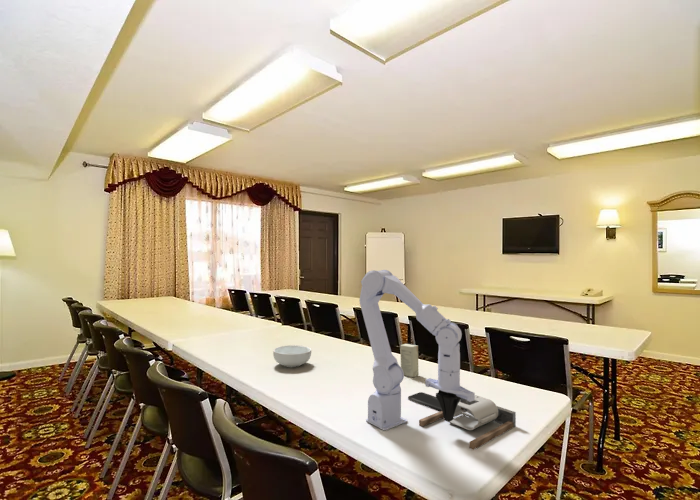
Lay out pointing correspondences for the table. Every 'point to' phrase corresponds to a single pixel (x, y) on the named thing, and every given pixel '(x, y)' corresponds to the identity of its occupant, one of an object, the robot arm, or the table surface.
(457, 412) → the cable organizer
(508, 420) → the rail channel
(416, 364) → the skincare box
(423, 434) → the table surface
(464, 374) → the table surface
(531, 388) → the table surface
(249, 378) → the table surface
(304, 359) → the cereal bowl
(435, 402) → the phone
